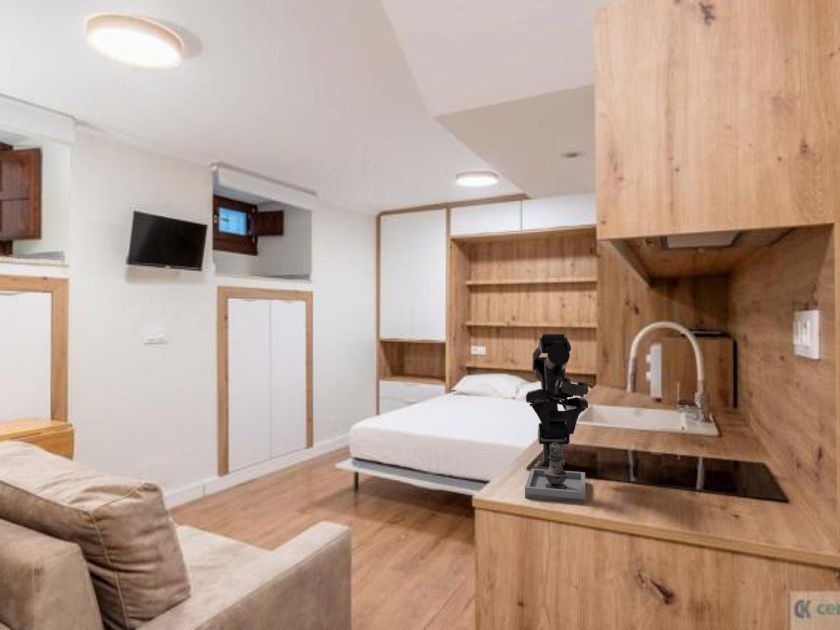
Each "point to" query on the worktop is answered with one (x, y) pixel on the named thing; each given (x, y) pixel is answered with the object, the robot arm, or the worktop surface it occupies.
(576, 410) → the robot arm
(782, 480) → the worktop surface
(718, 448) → the worktop surface
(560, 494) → the grey tray
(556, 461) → the grey tall rounded piece
